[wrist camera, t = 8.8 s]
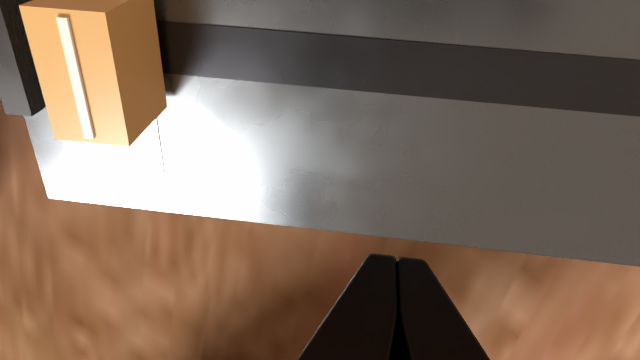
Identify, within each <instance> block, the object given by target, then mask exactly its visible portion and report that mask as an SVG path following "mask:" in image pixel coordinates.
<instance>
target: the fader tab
mask: <svg viewBox="0 0 640 360" xmlns="http://www.w3.org/2000/svg"><path fill="white" fill-rule="evenodd" d="M19 9H20V12H21V16H22V20H23V23H24V27H25V31H26V35H27V38H28V42H29V46H30V49H31V53H32V57H33V61H34V64H35V68H36V72H37V75H38V79H39V83H40V86H41V90H42V94H43V98H44V101H45V105H46V109H47V112H48V116H49V120H50V124H51V127H52V131H53V135H54V138H55V139H58V140H68V141H78V142H87V143H97V144H106V145H116V146H125V147H130V146H131V145H132V144H133V143H134V142H135V140H136V139H137V138H138V137H139V136H140V135H141V134H142V133H143V132H144V131H145V130H146V129H147V128H148V127H149V126H150V125H151V123H152V122H153V121H154V120H155V119H156V118H157V117H158V116H159V115H160V114H161V113H162V112H163V111H164V110H165V109H166V108H167V101H166V93H165V86H164V78H163V70H162V63H161V55H160V47H159V39H158V32H157V24H156V16H155V8H154V1H153V0H32V1H29V2H27V3H24V4H21V5H19Z"/></svg>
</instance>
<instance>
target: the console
mask: <svg viewBox="0 0 640 360" xmlns="http://www.w3.org/2000/svg"><path fill="white" fill-rule="evenodd" d="M29 1H32V0H0V98H1V101H2V105H3V108H4V111H5V114H11V115H21V116H24V119H25V122H26V125H27V129H28V132H29V135H30V139H31V142H32V145H33V149H34V152H35V155H36V159H37V162H38V166H39V169H40V172H41V176H42V179H43V182H44V186H45V189H46V192H47V196H48V198H50V199H59V200H68V201H76V202H85V203H94V204H102V205H111V206H120V207H128V208H137V209H146V210H154V211H163V212H172V213H180V214H189V215H198V216H206V217H215V218H224V219H232V220H241V221H250V222H258V223H267V224H276V225H284V226H293V227H302V228H310V229H319V230H328V231H336V232H345V233H354V234H362V235H371V236H380V237H388V238H397V239H406V240H414V241H423V242H432V243H440V244H449V245H458V246H466V247H475V248H484V249H492V250H501V251H510V252H518V253H527V254H536V255H544V256H553V257H562V258H570V259H579V260H588V261H596V262H605V263H614V264H622V265H631V266H640V0H153V1H154V8H155V16H156V24H157V32H158V39H159V47H160V55H161V63H162V70H163V78H164V86H165V93H166V101H167V108H166V109H165V110H164V111H163V112H162V113H161V114H160V115H159V116H158V117H157V118H156V119H155V120H154V121H153V122H152V123H151V125H150V126H149V127H148V128H147V129H146V130H145V131H144V132H143V133H142V134H141V135H140V136H139V137H138V138H137V139H136V140H135V142H134V143H133V144H132V145H131V146H130V147H125V146H116V145H106V144H97V143H87V142H78V141H68V140H58V139H55V138H54V135H53V131H52V127H51V124H50V120H49V116H48V112H47V109H46V105H45V101H44V98H43V94H42V90H41V86H40V83H39V79H38V75H37V72H36V68H35V64H34V61H33V57H32V53H31V49H30V46H29V42H28V38H27V35H26V31H25V27H24V23H23V20H22V16H21V12H20V9H19V5H21V4H24V3H27V2H29Z"/></svg>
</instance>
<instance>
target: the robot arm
mask: <svg viewBox="0 0 640 360" xmlns="http://www.w3.org/2000/svg"><path fill="white" fill-rule="evenodd" d="M296 360H490V359H489V357H488V356H487V354H486V353H485V351H484V350H483V348H482V347H481V345H480V343H479V342H478V340H477V339H476V337H475V336H474V334H473V333H472V331H471V330H470V328H469V327H468V325H467V324H466V322H465V321H464V319H463V318H462V316H461V315H460V313H459V311H458V310H457V308H456V307H455V305H454V304H453V302H452V301H451V299H450V298H449V296H448V295H447V293H446V292H445V290H444V289H443V287H442V286H441V284H440V282H439V281H438V279H437V278H436V276H435V275H434V273H433V272H432V270H431V269H430V267H429V266H428V264H427V263H426V262H425V261H424V260H422V259H415V258H407V257H399V258H398V259H397V261H396V259H395V257H394V256H390V255H381V254H369V255H368V256H367V257H366V259H365V260H364V262H363V263H362V265H361V266H360V267H359V269H358V270H357V272H356V273H355V275H354V276H353V278H352V279H351V281H350V282H349V284H348V285H347V286H346V288H345V289H344V291H343V292H342V294H341V295H340V297H339V298H338V300H337V301H336V303H335V304H334V305H333V307H332V308H331V310H330V311H329V313H328V314H327V316H326V317H325V319H324V320H323V322H322V323H321V324H320V326H319V327H318V329H317V330H316V332H315V333H314V335H313V336H312V338H311V339H310V341H309V342H308V343H307V345H306V346H305V348H304V349H303V351H302V352H301V354H300V355H299V357H298V358H297V359H296Z"/></svg>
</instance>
